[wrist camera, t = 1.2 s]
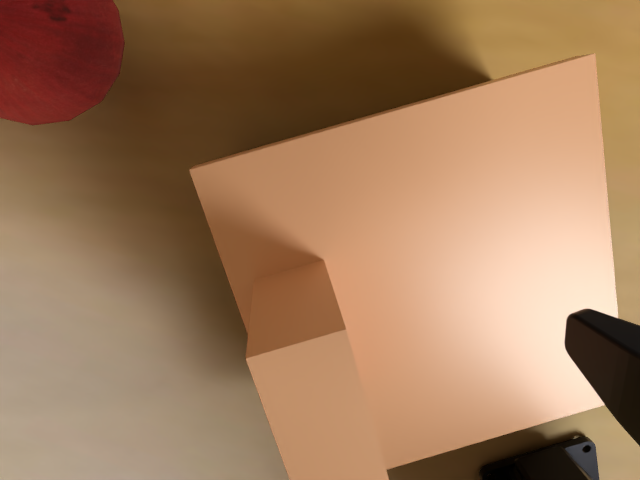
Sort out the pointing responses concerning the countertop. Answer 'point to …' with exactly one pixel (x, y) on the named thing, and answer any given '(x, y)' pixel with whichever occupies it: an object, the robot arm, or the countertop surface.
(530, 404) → the lid
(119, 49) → the onion
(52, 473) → the countertop surface
